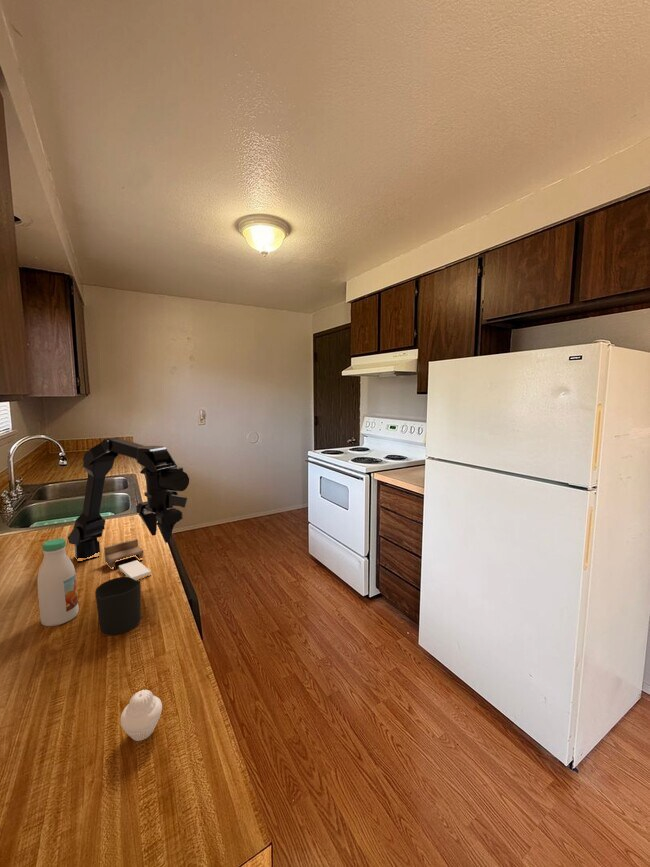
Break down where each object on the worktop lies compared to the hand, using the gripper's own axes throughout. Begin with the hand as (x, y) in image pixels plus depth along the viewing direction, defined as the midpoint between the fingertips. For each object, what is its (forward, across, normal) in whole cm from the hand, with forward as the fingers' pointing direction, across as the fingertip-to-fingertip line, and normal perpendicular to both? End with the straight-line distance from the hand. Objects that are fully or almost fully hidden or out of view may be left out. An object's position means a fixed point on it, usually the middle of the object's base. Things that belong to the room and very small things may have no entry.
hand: (160, 538), depth 109 cm
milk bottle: (+12, -1, +26) cm, 29 cm away
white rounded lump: (+13, -49, +25) cm, 57 cm away
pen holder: (+13, -15, +17) cm, 26 cm away
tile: (+13, +10, +5) cm, 17 cm away
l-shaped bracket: (+12, +19, +4) cm, 23 cm away
